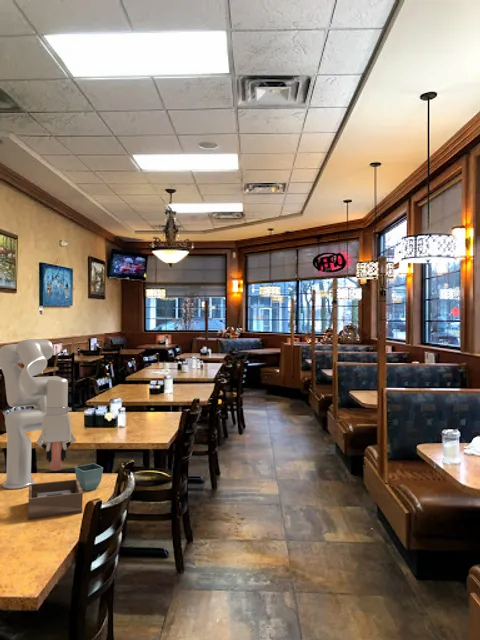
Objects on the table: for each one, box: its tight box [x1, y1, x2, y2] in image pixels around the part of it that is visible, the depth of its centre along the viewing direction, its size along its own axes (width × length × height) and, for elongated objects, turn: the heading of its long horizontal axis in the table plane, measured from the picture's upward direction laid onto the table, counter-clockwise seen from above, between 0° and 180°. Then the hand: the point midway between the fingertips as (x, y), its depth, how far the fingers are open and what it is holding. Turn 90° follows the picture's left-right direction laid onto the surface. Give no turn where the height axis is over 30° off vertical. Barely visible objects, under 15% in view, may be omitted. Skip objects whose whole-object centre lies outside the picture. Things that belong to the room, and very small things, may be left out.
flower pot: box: [74, 463, 104, 492], centre depth 204 cm, size 9×9×9 cm
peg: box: [49, 442, 63, 472], centre depth 182 cm, size 4×4×12 cm
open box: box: [27, 478, 84, 520], centre depth 182 cm, size 18×18×7 cm
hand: (56, 460), depth 182 cm, fingers closed on peg, 4 cm apart
